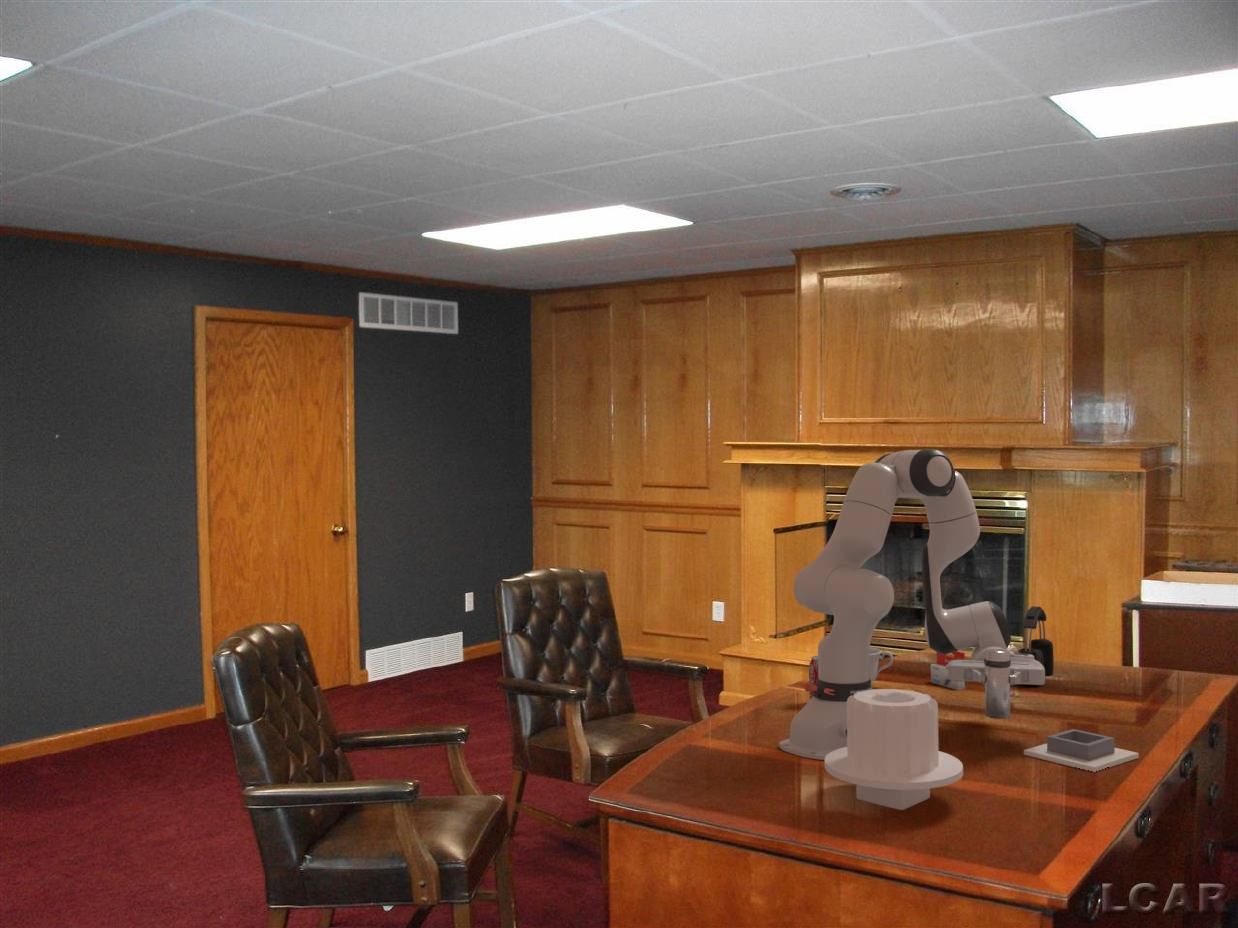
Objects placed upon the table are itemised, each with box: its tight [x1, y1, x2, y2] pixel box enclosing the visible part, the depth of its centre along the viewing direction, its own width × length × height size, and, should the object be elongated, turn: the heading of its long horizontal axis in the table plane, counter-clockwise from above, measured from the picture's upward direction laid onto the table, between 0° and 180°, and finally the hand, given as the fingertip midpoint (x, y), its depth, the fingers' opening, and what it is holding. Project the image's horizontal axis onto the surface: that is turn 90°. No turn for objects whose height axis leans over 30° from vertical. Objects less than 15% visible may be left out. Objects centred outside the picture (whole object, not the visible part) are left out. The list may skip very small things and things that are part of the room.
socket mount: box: [1023, 728, 1140, 773], centre depth 230 cm, size 16×16×4 cm
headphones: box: [1017, 606, 1055, 686], centre depth 304 cm, size 22×6×20 cm, turn 148°
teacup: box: [869, 646, 894, 683], centre depth 298 cm, size 12×15×10 cm
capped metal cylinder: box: [984, 649, 1011, 720], centre depth 236 cm, size 5×5×14 cm
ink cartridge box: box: [930, 650, 966, 691], centre depth 298 cm, size 2×11×10 cm, turn 25°
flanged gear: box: [824, 688, 964, 811], centre depth 205 cm, size 25×25×19 cm
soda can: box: [808, 655, 818, 701], centre depth 279 cm, size 7×7×12 cm
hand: (997, 679), depth 235 cm, fingers closed on capped metal cylinder, 5 cm apart
